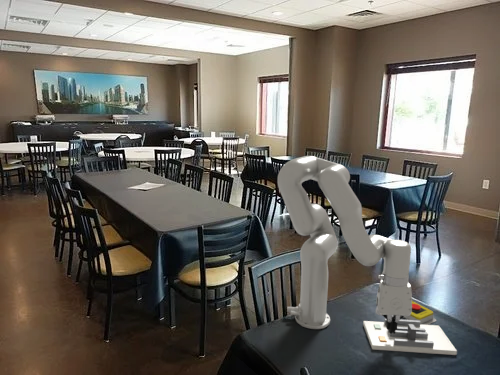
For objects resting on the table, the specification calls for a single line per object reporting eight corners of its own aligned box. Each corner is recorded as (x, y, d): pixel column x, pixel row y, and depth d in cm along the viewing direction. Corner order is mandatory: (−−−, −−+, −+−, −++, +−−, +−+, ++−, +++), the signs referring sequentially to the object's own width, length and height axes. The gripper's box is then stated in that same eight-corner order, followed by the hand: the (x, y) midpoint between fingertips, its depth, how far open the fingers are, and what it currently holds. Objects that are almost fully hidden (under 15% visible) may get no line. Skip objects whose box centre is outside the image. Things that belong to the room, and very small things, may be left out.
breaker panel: (372, 349, 119) (372, 340, 118) (363, 324, 132) (363, 316, 132) (456, 355, 116) (457, 345, 116) (438, 329, 130) (439, 320, 129)
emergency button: (423, 317, 130) (388, 299, 143) (421, 328, 131) (387, 309, 144) (439, 310, 135) (404, 293, 148) (437, 321, 136) (402, 303, 148)
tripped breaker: (409, 343, 119) (411, 329, 118) (406, 337, 122) (408, 323, 121) (414, 343, 119) (416, 329, 118) (411, 337, 122) (413, 324, 121)
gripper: (374, 283, 114) (370, 336, 117) (424, 285, 112) (419, 339, 116) (368, 273, 121) (365, 323, 125) (415, 274, 120) (411, 325, 123)
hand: (391, 331), depth 120 cm, fingers closed
